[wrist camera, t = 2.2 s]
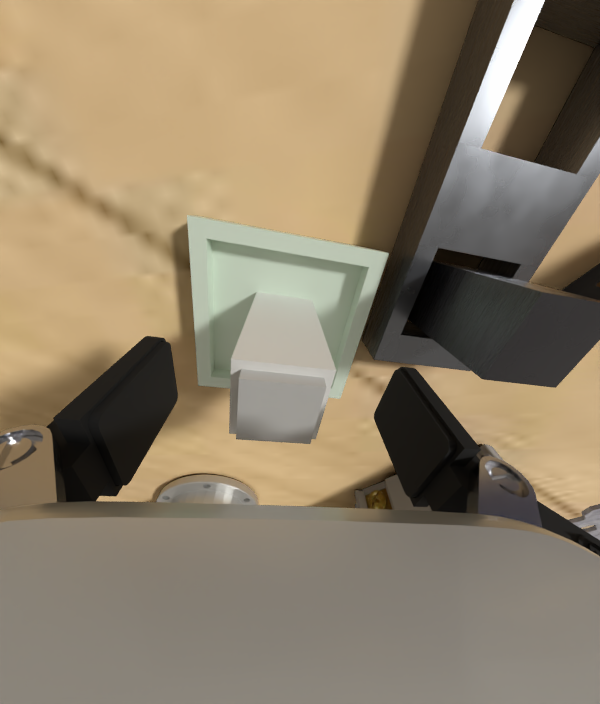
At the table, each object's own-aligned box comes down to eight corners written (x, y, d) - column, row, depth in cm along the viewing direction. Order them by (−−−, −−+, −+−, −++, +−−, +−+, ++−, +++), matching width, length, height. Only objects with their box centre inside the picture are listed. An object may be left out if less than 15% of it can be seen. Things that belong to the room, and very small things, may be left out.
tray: (336, 385, 22) (340, 398, 20) (204, 372, 20) (198, 385, 18) (378, 250, 16) (389, 253, 14) (197, 215, 14) (187, 215, 13)
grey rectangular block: (302, 347, 19) (317, 450, 10) (253, 341, 18) (226, 444, 10) (312, 300, 17) (339, 379, 8) (256, 291, 16) (227, 368, 8)
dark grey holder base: (513, 360, 21) (644, 441, 13) (362, 340, 19) (414, 422, 11) (760, 30, 12) (1751, -366, 4) (506, -81, 9) (1511, -1444, 2)
